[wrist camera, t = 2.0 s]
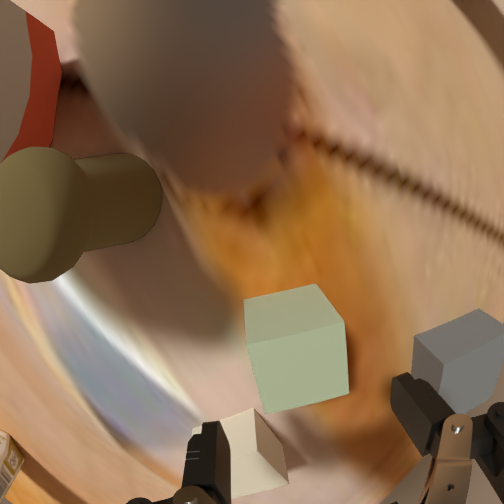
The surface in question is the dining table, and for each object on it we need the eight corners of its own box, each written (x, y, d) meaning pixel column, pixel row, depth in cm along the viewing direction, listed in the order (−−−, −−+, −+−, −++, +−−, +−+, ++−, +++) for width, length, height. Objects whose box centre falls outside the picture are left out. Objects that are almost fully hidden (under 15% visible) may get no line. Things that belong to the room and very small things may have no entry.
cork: (180, 207, 18) (108, 240, 8) (113, 260, 19) (15, 333, 8) (129, 134, 17) (24, 94, 6) (67, 191, 18) (-51, 209, 7)
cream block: (192, 427, 23) (186, 469, 18) (253, 406, 22) (257, 450, 17) (226, 461, 24) (226, 499, 19) (282, 443, 24) (289, 483, 19)
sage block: (243, 299, 20) (246, 344, 14) (315, 283, 20) (344, 321, 14) (258, 359, 21) (264, 414, 15) (323, 344, 21) (348, 393, 15)
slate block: (412, 334, 22) (444, 364, 17) (477, 307, 22) (510, 328, 17) (406, 400, 24) (428, 432, 19) (466, 372, 24) (491, 396, 19)
